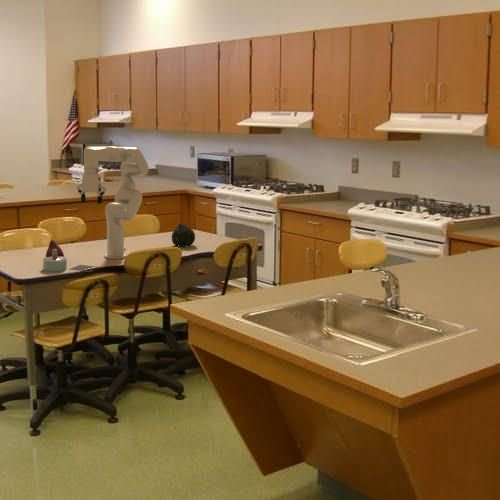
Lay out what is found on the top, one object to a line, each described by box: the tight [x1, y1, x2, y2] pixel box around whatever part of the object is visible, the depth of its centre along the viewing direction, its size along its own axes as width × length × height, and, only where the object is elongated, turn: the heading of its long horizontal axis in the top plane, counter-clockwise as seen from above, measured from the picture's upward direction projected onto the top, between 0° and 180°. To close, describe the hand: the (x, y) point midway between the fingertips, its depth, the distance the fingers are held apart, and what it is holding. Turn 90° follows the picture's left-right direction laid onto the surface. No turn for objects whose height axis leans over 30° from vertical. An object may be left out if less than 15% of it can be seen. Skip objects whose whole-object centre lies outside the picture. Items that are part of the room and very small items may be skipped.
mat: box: [68, 264, 97, 273], centre depth 389 cm, size 12×12×1 cm
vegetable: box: [45, 239, 65, 258], centre depth 399 cm, size 10×10×15 cm
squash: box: [171, 223, 196, 247], centre depth 459 cm, size 14×15×15 cm
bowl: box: [42, 261, 67, 273], centre depth 385 cm, size 11×11×5 cm
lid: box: [42, 249, 68, 263], centre depth 384 cm, size 12×12×6 cm
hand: (91, 202), depth 392 cm, fingers open, 9 cm apart
